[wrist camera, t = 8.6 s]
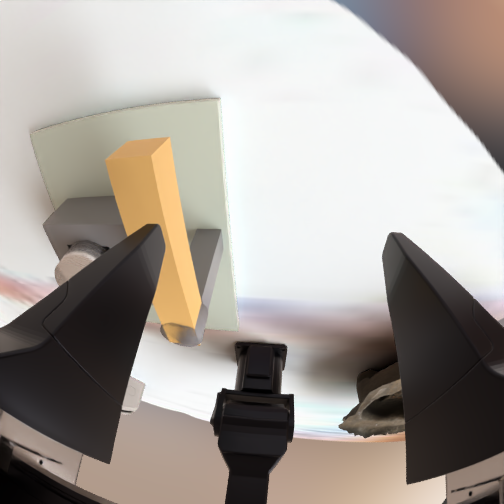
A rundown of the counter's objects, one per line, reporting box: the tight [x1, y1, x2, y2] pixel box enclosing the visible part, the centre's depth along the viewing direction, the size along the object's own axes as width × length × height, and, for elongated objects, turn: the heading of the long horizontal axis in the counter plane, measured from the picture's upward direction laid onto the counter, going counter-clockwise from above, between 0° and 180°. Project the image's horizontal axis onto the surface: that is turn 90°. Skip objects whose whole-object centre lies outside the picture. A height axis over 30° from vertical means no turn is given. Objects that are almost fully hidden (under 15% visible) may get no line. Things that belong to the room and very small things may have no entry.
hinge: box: [121, 376, 145, 415], centre depth 45 cm, size 17×5×10 cm, turn 46°
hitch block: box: [30, 98, 239, 331], centre depth 22 cm, size 24×17×8 cm
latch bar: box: [105, 137, 208, 347], centre depth 14 cm, size 12×3×2 cm, turn 1°
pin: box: [55, 240, 109, 286], centre depth 22 cm, size 6×6×6 cm
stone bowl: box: [338, 362, 405, 438], centre depth 34 cm, size 25×25×9 cm
